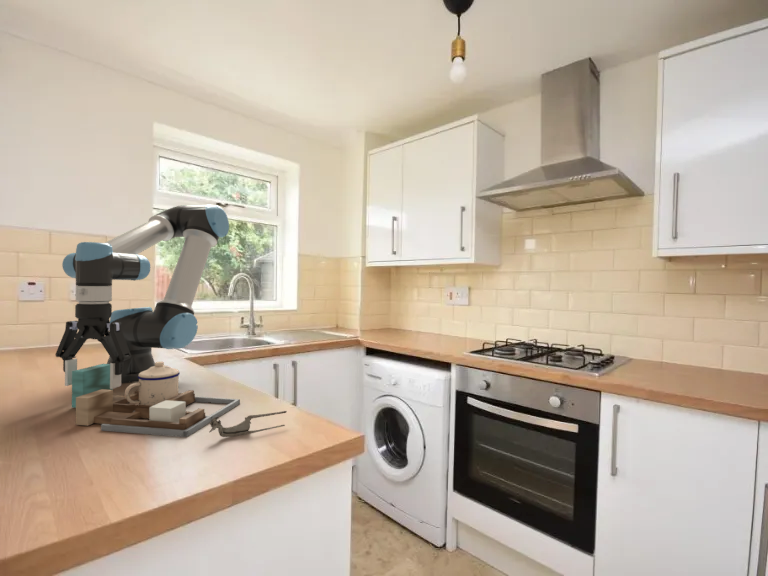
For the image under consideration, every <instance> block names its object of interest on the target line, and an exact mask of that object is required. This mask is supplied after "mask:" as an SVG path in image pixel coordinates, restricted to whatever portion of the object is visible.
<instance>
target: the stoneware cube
mask: <svg viewBox="0 0 768 576" xmlns="http://www.w3.org/2000/svg"><path fill="white" fill-rule="evenodd" d="M186 406H187V405H186V402H184V401H169V400H165V401H163V402H160V403H158V404H156V405H154V406H151V407H150V409H149V418H148V419H149V421H163V422H176V423H179V419H180V418H182V417H184V416H185V415H186V411H187V409H186Z"/></svg>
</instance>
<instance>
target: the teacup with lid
mask: <svg viewBox="0 0 768 576" xmlns="http://www.w3.org/2000/svg"><path fill="white" fill-rule="evenodd" d="M179 376H180V371H179V370H178V369H177V368H174V367H171V366H168V365H166V364H165V362H164V361H155V366H153V367H151V368H149V369H148V370H145V371H142V372H140V373H139V375H138V378H139V382H132V383H130V384H129V385H128V386H127V387H126V388H125V390H124V396H125V398H126V399H127V401H128V402H129V404H135V405H149V406H154V405H156V404H158V403H160V402H163V401H165V400H168V399H170V398H173V397H175V396H177V395H178V393H179V383H180V381H179ZM135 387H138V390H139V399H137V400H131V399H130V397H129V395H130V391H131V389H133V388H135Z"/></svg>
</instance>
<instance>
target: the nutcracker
mask: <svg viewBox="0 0 768 576" xmlns="http://www.w3.org/2000/svg"><path fill="white" fill-rule="evenodd" d="M282 414H287V410H283V411H279V412H278V411H276V412H269V413H261V414H251V415H247V416H246V417H244V420H243V421H241V422H240V423H238V424H236V425H233V426H229V427H224V426H223V425H222V421H221V420H220V419H219V418H220V417H215V418H213V419H212V421H211V422H210V423H209V425H210V427H211V429H210V430H209V431H208V432H209V433H212V431H216V429H218V430H217V431H218V434H219V436H220V437H221V438H230V437H239V436H242V435H243V436H244V435H248V434H252V433H253V434H254V433H257V432H262V431H267V430H272V429H275V428H281V427H285V425H286V424H281V425H276V426H272V427H266V428H261V429H255V430H250V429H251V424H252V422H251V420H252V419H256V418H263V417H270V416H274V415H275V416H276V415H282ZM218 419H219V420H218Z"/></svg>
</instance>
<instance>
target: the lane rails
mask: <svg viewBox="0 0 768 576" xmlns="http://www.w3.org/2000/svg"><path fill="white" fill-rule="evenodd" d="M208 402H211V404H222V403H226V404H225V406H223V407H222V408H220V409H218V410H216V411H215V412H213V413H211V414H209V415H206V414H205V418H204V419H203V420H201V421H199V422H198V423H196V424H194V425H193V426H191V427H189V428H188V429H186V430H177V429H164V428H151V427H138V426H125V425H112V424H100V431H101V432H102V431H105V432H117V433H130V434H141V435H155V436H165V437H166V436H168V437H180V438H181V437H184V438H187V437H189V436H191V435H192V434H194V433H195V432H197V431H198V430H200V429H202V428H204V427H205V426H207V425H208V424H210V423H211V421H212V419H213V418H215V417H219V418H220V417H221V416H223V415H224V414H226V413H227V412H229V411H231V410H232V409H234V408H236V407H237V406H239V405H241V400H240V398H239V399H238V398H224V397H211V396H210V397H209V396H205V397H204V396H196V395H195V401H194V402H193V403H208ZM235 406H236V407H235ZM133 412H135V411H133Z"/></svg>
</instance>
